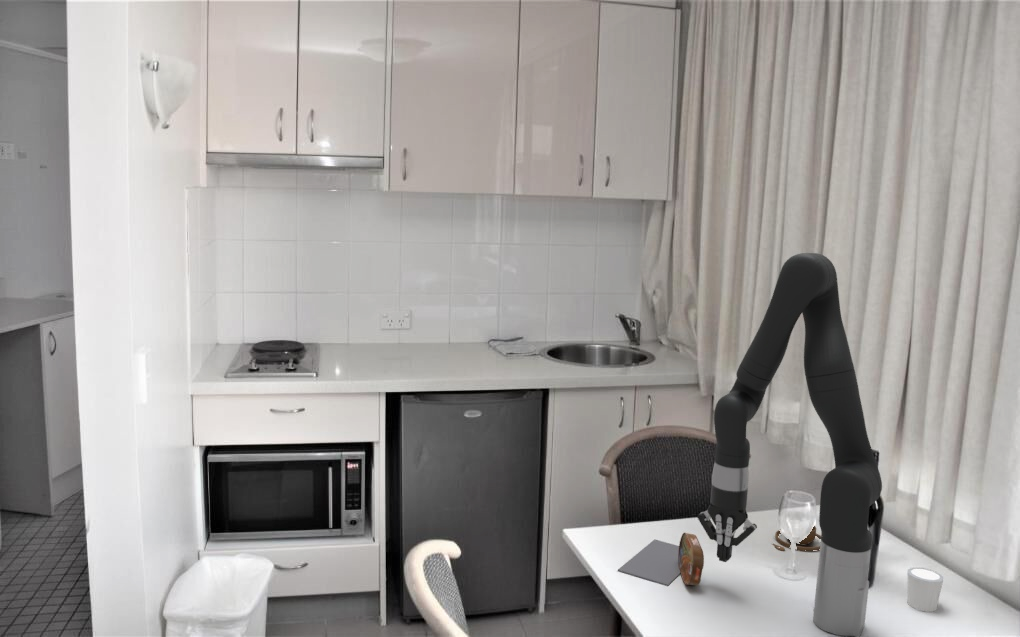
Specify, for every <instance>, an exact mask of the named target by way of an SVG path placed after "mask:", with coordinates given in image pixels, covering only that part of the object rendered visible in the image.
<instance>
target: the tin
mask: <svg viewBox="0 0 1020 637" xmlns="http://www.w3.org/2000/svg"><path fill="white" fill-rule="evenodd" d="M678 546H679V552H678V565H679V569H680V572H681V574H680V576H681V577H682V580H683V582H684V584H685V585H687V586H689V585H690V586H699V585H700V583H701V580H702V579H701V578H702V574H703V569H704V564H705V560H704V559H705V555H704V551H703V549H702V548H703V547H702V545H701V544H700V541H699V539H698V537H697V535H696V534H692V533H687V532H683V533H682V535H681V537H680V540H679V545H678Z"/></svg>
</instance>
